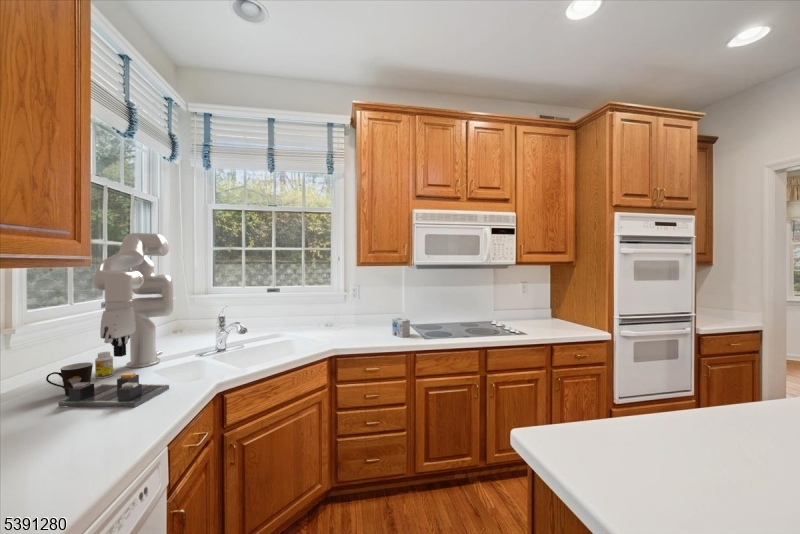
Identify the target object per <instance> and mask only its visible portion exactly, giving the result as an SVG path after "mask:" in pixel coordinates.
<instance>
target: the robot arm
mask: <svg viewBox="0 0 800 534" xmlns="http://www.w3.org/2000/svg"><path fill="white" fill-rule="evenodd" d="M169 251H170V245H169V242H168V239H166V238H165V237H164V236H163V235H162V234H159V233H152V232H151V233H150V232H149V233H146V232H132V233H128V234H127V235H125V236H124V238H123V239H122V243H121V245H120V248H119V250H118V253H115V254H113V255H110V256H109V257H107V258H105V259H103V260H102V261H101V262H100V263H99V264H98V265H97V268H96V269H95V272H94V275H93V280H92V282H93V286H94V288H95V289H97V290H98V291H104V308H105V309H104V311H102V314H101V319H100V328H99V329H100V330H99V331H100V333H99V334H100V339H104V344H111V346H112V347H113V357H115V358H116V357H117V358H118V357H125V356H126V355H127V344H128V343H129V342H130V343H129V344H130V345H129V346H130V349H129V350H130V352H129V353H130V361H128V362H127V363H126V367H127V368H128V369H129V368H131V369H138V368H144V367H150V366H154V365H156V364H159V363H160V362H161V359H160V358H159V357H158V356H160V355H162V354H163V351H162V350H158V351H157V348H156V347H157V343H156V342H157V341H156V340H157V339H156V338H157V337H156V336H157V334H156V333H157V331H156V330H157V329H156V325H155V323H154V322H153V320H152V319H150V318H159V317H160V318H161V317H168V316H169V317H170V316H171V315H172V314H173V311H174V282H173V278H172V277H171V276H170V275H168V274H155V264H154V262H153V261H152V260H151V259H150V258H149V257H164V256H166V255H167V254H168V253H169ZM129 269H130V270H129ZM133 294H135V295H139V296H141V295H142V296H145V295H147V297H137V298H133ZM149 295H161V296H153V297H152V296H151V297H150V296H149ZM148 296H149V297H148ZM129 340H130V341H129Z"/></svg>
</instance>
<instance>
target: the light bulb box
mask: <svg viewBox="0 0 800 534" xmlns="http://www.w3.org/2000/svg"><path fill="white" fill-rule="evenodd" d="M391 329H392V333H391V334H392V336H396V337H400V338H402V339H403V338H407V337H410V336H411V319H408V318H407V319H406V318H402V317H397V318H392V328H391Z"/></svg>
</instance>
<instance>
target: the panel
mask: <svg viewBox="0 0 800 534" xmlns="http://www.w3.org/2000/svg"><path fill="white" fill-rule="evenodd" d="M167 389H168V390H170V384H161V383H160V384H157V383H156V384H154V383H151V384H148V383H147V384H142V383H139V384H138V383H125V384H122V388H120V389H118V390H117V383H105V384H104V383H103V384H100V385H97V386H95V383H91V382H78V383H76V384H73V388H70V389H69V396H68V398H65V399H64V400H61V401H59V402H57V403H58V407H59V406H68V407H67V408H136V407H139V406H140V405H142V404H144V403H145V401H146V402H148V401H149V400H151V399H153V398H154V396H155V397H157V396H159V395H161V394H162V393H164V392H166V391H168V390H167ZM165 390H166V391H165ZM163 391H164V392H163ZM161 392H162V393H161ZM158 394H159V395H158ZM156 395H157V396H156ZM152 397H153V398H152ZM150 398H151V399H150Z"/></svg>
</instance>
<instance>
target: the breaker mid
mask: <svg viewBox="0 0 800 534" xmlns="http://www.w3.org/2000/svg"><path fill="white" fill-rule="evenodd" d="M125 383H138V384H140V375H139V374H136V372H135V373H134V372H133V373H132V372H130V373H129V372H128V373H127V372H126V373H122V374H120V377H119V378H117V379H116V384H117V390H118V389H120V388H122V384H125Z"/></svg>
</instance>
